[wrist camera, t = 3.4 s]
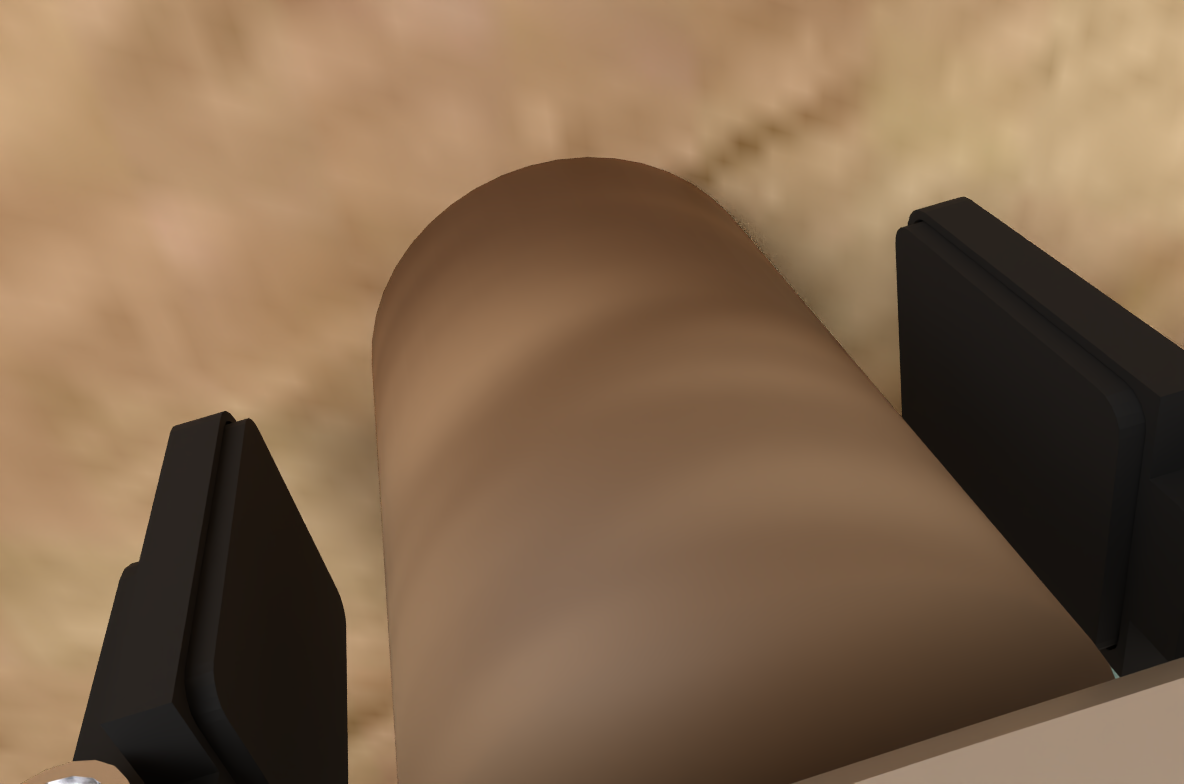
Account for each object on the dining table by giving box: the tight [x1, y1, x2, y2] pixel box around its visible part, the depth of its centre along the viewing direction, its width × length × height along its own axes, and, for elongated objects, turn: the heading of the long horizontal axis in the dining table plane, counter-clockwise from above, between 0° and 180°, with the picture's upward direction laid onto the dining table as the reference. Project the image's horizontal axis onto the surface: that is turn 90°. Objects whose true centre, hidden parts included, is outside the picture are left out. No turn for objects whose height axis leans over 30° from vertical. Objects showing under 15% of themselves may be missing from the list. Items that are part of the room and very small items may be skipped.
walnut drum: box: [372, 157, 1115, 784], centre depth 10 cm, size 5×5×7 cm
